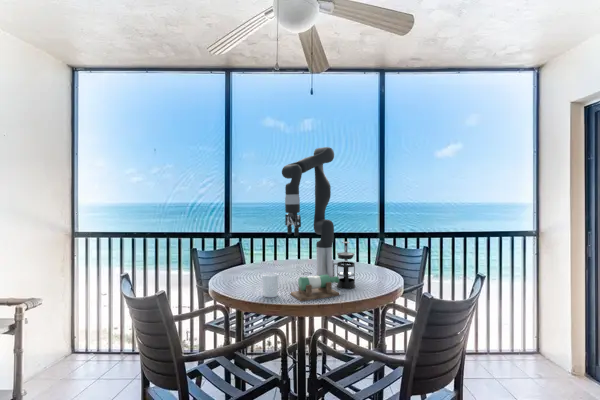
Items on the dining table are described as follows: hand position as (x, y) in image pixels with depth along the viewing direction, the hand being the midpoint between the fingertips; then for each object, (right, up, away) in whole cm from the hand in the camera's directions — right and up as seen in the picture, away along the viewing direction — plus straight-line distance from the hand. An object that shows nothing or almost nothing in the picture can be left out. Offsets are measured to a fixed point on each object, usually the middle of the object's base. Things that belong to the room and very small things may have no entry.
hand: (293, 234), depth 170 cm
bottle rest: (+11, -27, -15) cm, 33 cm away
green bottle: (+13, -24, -13) cm, 30 cm away
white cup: (-10, -27, -15) cm, 33 cm away
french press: (+27, -27, 0) cm, 38 cm away
